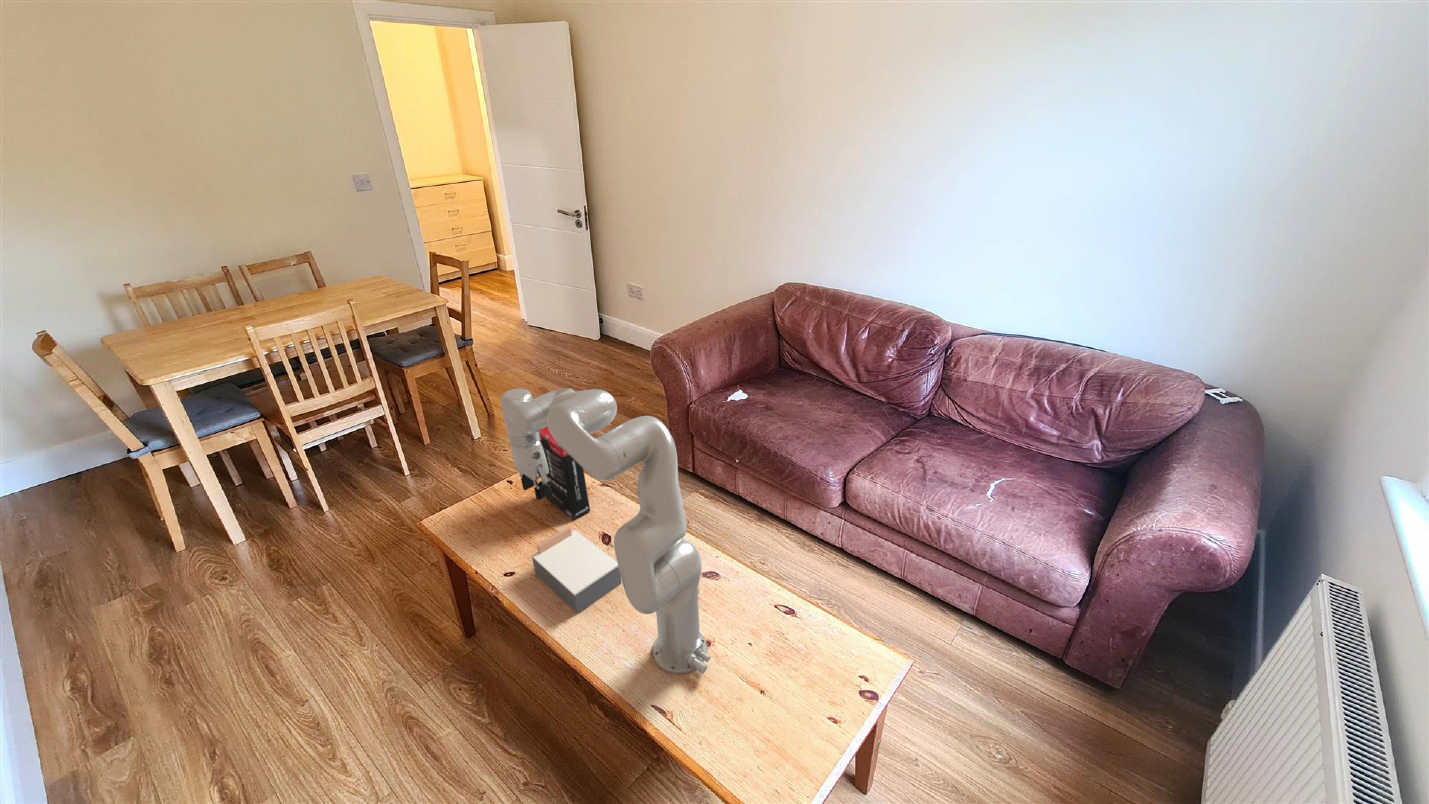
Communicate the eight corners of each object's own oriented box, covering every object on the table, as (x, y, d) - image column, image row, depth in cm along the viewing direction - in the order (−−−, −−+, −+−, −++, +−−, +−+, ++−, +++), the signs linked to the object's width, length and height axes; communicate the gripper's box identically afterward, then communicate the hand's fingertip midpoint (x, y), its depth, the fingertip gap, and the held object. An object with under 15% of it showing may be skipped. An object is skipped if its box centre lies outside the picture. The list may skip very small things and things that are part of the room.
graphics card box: (592, 512, 181) (581, 438, 168) (573, 523, 176) (560, 448, 163) (561, 489, 191) (549, 419, 178) (543, 499, 187) (529, 427, 174)
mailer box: (621, 583, 154) (619, 566, 151) (578, 613, 145) (574, 596, 143) (578, 548, 166) (575, 532, 164) (535, 574, 158) (532, 558, 155)
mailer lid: (619, 565, 151) (618, 557, 150) (574, 596, 142) (573, 587, 141) (575, 531, 163) (574, 522, 162) (531, 557, 155) (529, 548, 153)
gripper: (555, 442, 143) (565, 499, 152) (519, 419, 154) (531, 474, 163) (528, 454, 139) (540, 513, 147) (493, 429, 149) (506, 486, 158)
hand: (535, 492), depth 155 cm, fingers open, 5 cm apart
